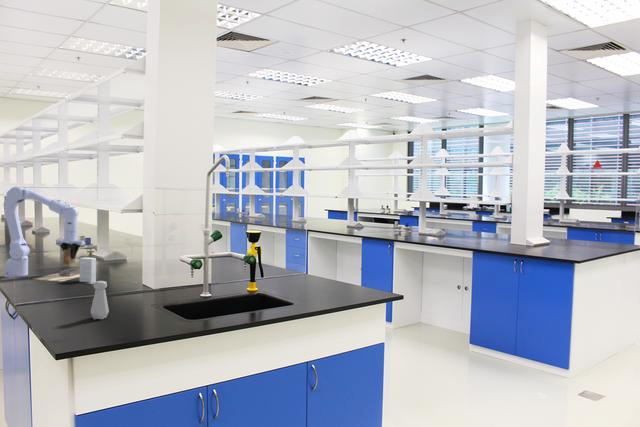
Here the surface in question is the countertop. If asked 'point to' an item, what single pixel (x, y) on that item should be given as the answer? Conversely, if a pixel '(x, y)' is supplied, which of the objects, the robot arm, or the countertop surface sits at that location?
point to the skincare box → (87, 270)
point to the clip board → (62, 275)
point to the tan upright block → (67, 257)
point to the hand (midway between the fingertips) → (70, 258)
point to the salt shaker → (99, 301)
